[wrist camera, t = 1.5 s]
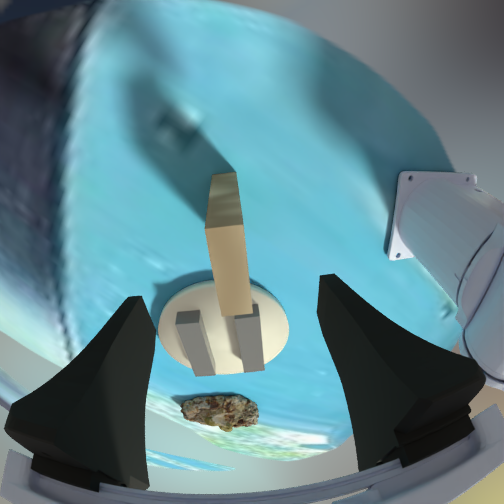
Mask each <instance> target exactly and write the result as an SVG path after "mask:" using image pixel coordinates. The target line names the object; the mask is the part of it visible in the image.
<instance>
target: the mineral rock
mask: <svg viewBox="0 0 504 504" xmlns="http://www.w3.org/2000/svg"><path fill="white" fill-rule="evenodd" d="M180 407H181V408H182V410H181V412H182V413H183V416H184V418H185V419H186V420H189V421H193V422H194V421H195V422H199V423H200V424H204V425H209V426H219V427H220V429H221V430H223V431H225V432H229V431H232V427H235V428H237V427H240V426H245V427H248V426H251V425H252V424H254V425H256V424H257V423H258V422H257V418H259V413H258V409H257V404H256V403H255V402H252V401H251V400H248V399H246V398H244V397H243V396H240V395H237V396H224V395H218V396H211V397H209V396H205V397H196V398H194V399H193V400H187V401H185V403H183V404H181V406H180Z"/></svg>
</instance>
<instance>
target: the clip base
mask: <svg viewBox="0 0 504 504" xmlns="http://www.w3.org/2000/svg"><path fill="white" fill-rule="evenodd" d="M250 290H251V299H252V309H253V313H251V314H243V315H233V316H224V317H222V316H221V311H220V306H219V301H218V297H217V292H216V287H215V282H214V280H208V281H203V282H199V283H195V284H193V285H190V286H188V287H185V288H184V289H182V290H180V291H178V292H177V293H176V294H175V295H173V296H172V297H171V298H170V299H169V300H168V301H167V303H166V304H165V306H164V308H163V310H162V312H161V316H160V320H159V325H158V334H159V338H160V341H161V344H162V345H163V347H164V349H165V350H166V351H167V353H168V354H169V355H170V356H171V357H173V358H174V359H175V360H177V361H178V362H180V363H181V364H183V365H185V366H187V367H189V368H192V369H193V371H194V374H195V376H212V375H216V374H235V373H241V372H244V373H246V372H255V371H263V370H265V368H264V364H266V363H267V362H269V361H271V360H272V359H273V358H274V357H276V356H277V355H278V354H279V353H280V352H281V350H282V349H283V347H284V346H285V344H286V342H287V339H288V335H289V324H288V321H287V317H286V313H285V310H284V308H283V306H282V305H281V304H280V302H279V301H278V300H277V299H276V298H275V297H274V296H273V295H272V294H270V293H269V292H268V291H266V290H264V289H262V288H261V287H259V286H256V285H253V284H251V283H250Z"/></svg>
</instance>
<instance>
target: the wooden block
mask: <svg viewBox="0 0 504 504" xmlns="http://www.w3.org/2000/svg"><path fill="white" fill-rule="evenodd" d="M205 234H206V239H207V245H208V250H209V256H210V261H211V266H212V271H213V276H214V282H215V287H216V292H217V297H218V301H219V306H220V311H221V316H222V317H224V316H233V315H243V314H251V313H253V309H252V299H251V290H250V281H249V272H248V262H247V253H246V244H245V234H244V225H243V218H242V210H241V203H240V196H239V189H238V182H237V175H236V172H231V173H222V174H214V175H212V179H211V186H210V193H209V200H208V207H207V215H206V222H205Z"/></svg>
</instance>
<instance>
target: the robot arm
mask: <svg viewBox="0 0 504 504" xmlns="http://www.w3.org/2000/svg"><path fill="white" fill-rule="evenodd" d="M409 176H411V178H410V179H409V180H408V178H409ZM466 178H467V179H466ZM476 182H477V176H476V175H475V174H473V173H457V172H430V171H402V172H401V173H400V174H399V178H398V187H397V196H396V204H395V211H394V218H393V225H392V231H391V237H390V242H389V248H388V253H387V257H388V258H389V260H399V259H405V258H411V257H416V258H417V259H418V261H419V262H420V263H421V264H422V265H423V266H424V267H425V268H426V269H427V271H428V272H429V273H430V274H431V275H432V276H433V277H434V279H435V280H436V281H437V282H438V283H439V285H440V286H441V287H442V288H443V289H444V291H445V292H446V293H447V294H448V295H449V297H450V298H451V299H452V300H453V302H454V303H455V304H456V305H457V307H458V312H457V315H456V317H455V319H456V320H457V321H458V323H459V324H460V325H461V327H462V328H463V329H462V331H461V333H460V336H459V349H460V353H461V355H459V354H456V353H453V352H450V351H448V350H446V349H443V348H441V347H438V346H436V345H434V344H432V343H429V342H427V341H426V340H424V339H422V338H420V337H418V336H416V335H414V334H412V333H411V332H409V331H407V330H406V329H404V328H402V327H401V326H399V325H398V324H396V323H394V322H393V321H392V320H390V319H389V318H387V317H386V316H385V315H383V314H382V313H380V312H379V311H378V310H376V309H375V308H374V307H373V306H371V305H370V304H369V303H368V302H366V301H365V300H364V299H363V298H362V297H360V296H359V295H358V294H357V293H356V292H355V291H354V290H352V289H351V288H350V287H349V286H348V285H347V284H346V283H344V282H343V281H342V280H341V279H340V278H339V277H338V276H337V275H335V274H328V275H320V281H319V293H318V305H317V316H318V319H319V323H320V327H321V331H322V334H323V337H324V339H325V342H326V344H327V347H328V349H329V352H330V354H331V357H332V359H333V362H334V364H335V367H336V369H337V372H338V374H339V377H340V380H341V383H342V386H343V389H344V393H345V397H346V401H347V405H348V410H349V414H350V419H351V423H352V429H353V434H354V439H355V446H356V453H357V460H358V469H359V472H358V473H354V474H351V475H347V476H343V477H340V478H336V479H332V480H328V481H323V482H319V483H314V484H309V485H304V486H298V487H292V488H286V489H279V490H271V491H263V492H252V493H237V494H180V493H165V492H155V491H147V490H146V489H147V488H148V487H149V486H150V485H149V479H148V471H147V463H146V450H145V404H146V395H147V390H148V384H149V378H150V373H151V368H152V362H153V357H154V352H155V337H156V329H155V327H154V325H153V322H152V320H151V318H150V315H149V313H148V310H147V308H146V305H145V303H144V300H143V298H142V296H131V297H128V298H127V299H126V300H125V301H124V302H123V303H122V305H121V306H120V307H119V308H118V309H117V311H116V312H115V313H114V314H113V315H112V317H111V318H110V319H109V320H108V322H107V323H106V324H105V325H104V326H103V328H102V329H101V330H100V331H99V332H98V334H97V335H96V336H95V337H94V338H93V339H92V340H91V341H90V343H89V344H88V345H87V346H86V347H85V348H84V349H83V350H82V351H81V352H80V353H79V354H78V355H77V356H76V357H75V358H74V359H73V360H72V361H71V362H70V363H69V364H68V365H67V366H66V367H65V368H63V369H62V370H61V371H60V372H59V373H57V374H56V375H55V376H54V377H53V378H51V379H50V380H49V381H48V382H46V383H45V384H43V385H42V386H41V387H39V388H38V389H36V390H35V391H33V392H32V393H30V394H28V395H27V396H25V397H23V398H21V399H20V400H18V401H16V402H14V403H12V405H11V408H10V411H9V415H8V417H7V420H6V424H5V427H4V429H5V432H6V433H7V434H8V435H9V436H10V437H11V438H12V439H14V440H15V441H16V442H18V443H19V444H20V445H22V446H23V447H25V448H26V449H27V450H29V451H31V452H32V453H34V455H33V459H32V458H30V457H27V456H25V455H23V454H21V453H18V452H16V451H14V450H12V449H9V451H8V455H7V460H6V464H5V469H4V474H3V479H2V485H1V491H0V495H1V497H3V498H5V499H6V500H8V501H9V502H11V503H13V504H308V503H313V502H318V501H323V500H327V499H331V498H335V497H339V496H343V495H346V494H350V493H354V492H357V491H360V490H363V489H366V488H368V489H367V490H366V491H365V492H362V493H359V494H356V495H353V496H351V497H347V498H345V499H342V500H338V501H334V502H332V504H448V503H450V502H451V501H453V500H454V499H456V498H457V497H459V496H460V495H462V494H463V493H465V492H466V491H467V490H469V489H470V488H472V487H473V486H474V485H475V484H477V483H478V482H479V481H481V480H482V479H483V478H485V477H486V476H487V475H488V474H490V473H491V472H492V471H493V470H495V469H496V468H497V467H498V466H500V465H501V464H502V463H503V462H504V418H503V416H502V414H501V412H500V410H499V408H498V406H497V404H493V405H492V406H490V407H489V408H487V409H486V410H484V411H483V412H481V413H479V414H478V415H477V416H475V417H474V418H472V419H470V417H469V415H468V414H469V413H470V412H471V409H470V406H469V405H468V404H469V402H470V401H471V400H472V399H473V398H474V397H475V396H476V395H477V394H478V393H479V391H480V390H481V389H482V388H483V386H484V384H486V385H488V386H490V387H494V388H497V389H500V390H503V391H504V203H502V202H501V201H500V200H498V199H497V198H495V197H493V196H492V195H490V194H489V193H487V192H485V191H484V190H482V189H480V188H479V187H477V186H476ZM397 253H398V254H397ZM396 254H397V255H396Z"/></svg>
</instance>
